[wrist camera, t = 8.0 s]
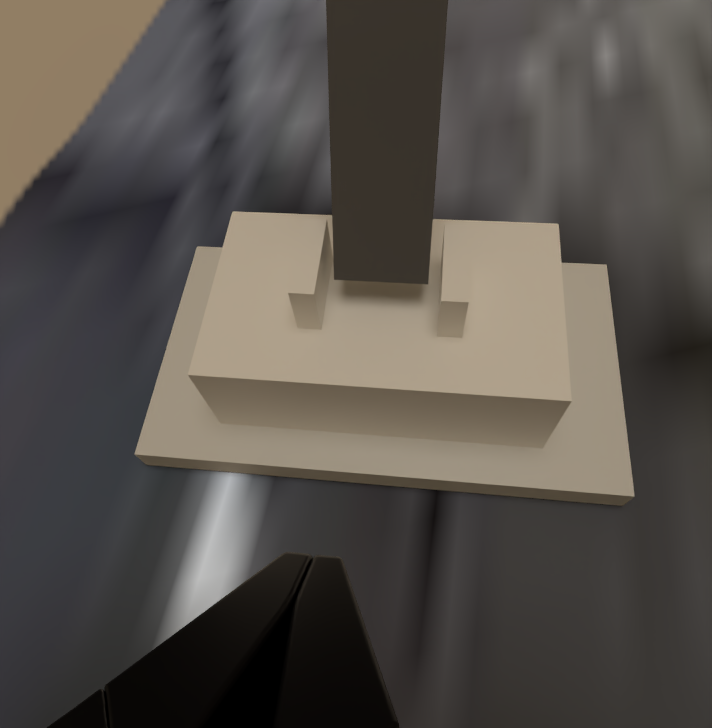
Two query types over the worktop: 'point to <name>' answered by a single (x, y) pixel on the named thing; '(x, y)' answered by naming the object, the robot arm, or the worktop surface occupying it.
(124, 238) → the worktop surface
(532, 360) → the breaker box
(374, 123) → the lever
